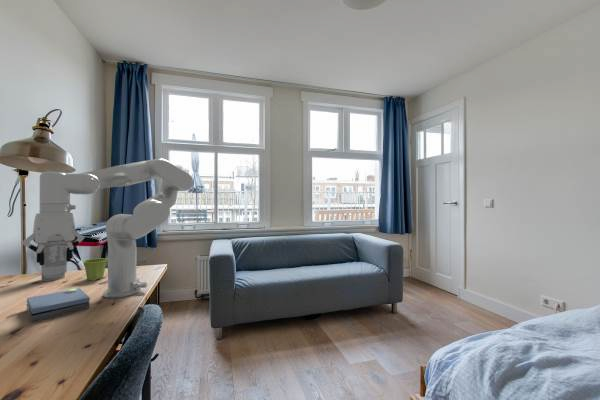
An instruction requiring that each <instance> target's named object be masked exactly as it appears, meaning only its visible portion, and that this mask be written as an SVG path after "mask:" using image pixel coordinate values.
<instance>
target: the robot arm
mask: <svg viewBox="0 0 600 400" xmlns="http://www.w3.org/2000/svg"><path fill="white" fill-rule="evenodd" d="M156 179H157V180H158V179H159V180H160V179H162V180H161V185H160V186H161V187H160V190H159V192H157V193H156V194H155V195H152V196H150V197H149V198H148V199H145V200H143V201H142V202H139V203H138V204H137V205H136V206H135V207H134V209H133V212H132V213H133V214H130V213H129V214H126V213H118V214H115V215H113V216H111V217H110V218H109V219H108V220H107V222H106V225H105V234H106V239H107V259H108V260H107V289H105V290H104V291H103V292H102V296H103V297H105V298H107V299H116V298H124V297H129V296H132V295H135V294H138V293H139V292H140V291H141V289H144V288H145V289H146V288H147V287H148V282H146V281H140V278H137V240H138V239H141V238H143V237H144V236H147V235H148V234H149V233H151V232H152V231H154V230H156V228H158V227H160V226H161V225H162V224H164V223H165V222H166V221H167V220H168V219H169V217H170V214H171V210H170V209H171V208H172V207H174V206H175V204H176V202H177V199H178V192H186V191H189V190H191V188H192V187H193V185H194V179H193V177H192V175H191V174H190V173H189V172H187V171H186V170H184V169H182V168H181V167H180V166H178V165H176V164H174V163H172V162H171V161H169V160H167V159H165V158H156V159H149V160H148V159H147V160H141V161H136V162H131V163H126V164H125V163H124V164H120V165H115V166H114V165H113V166H110V167H106V168H101V169H95V170H91V171H84V172H80V173H67V172H60V171H59V172H58V171H43V172H42V173H40V174H39V213H38V212H37V213H36V214H35V217H34V220H33V221H34V222H33V229H32V230H33V231H32V233H31V234H30V235H29V236H28V237H26V238H25V239H24V240H23V241H22V242H21V244H22V246H24V247H26V248H28V249H29V250H31V251H33V252H35V253H36V263H38V264H39V266H42V265H44V253H42V249H43V248H44V246H45V244H46V243H47V240H48V237H49V236H51V235H53V234H61V235H63V236H64V239H65V242H66V243H67V263H68V262H71V259H73V250H74V249H75V248H76V247H77V246H78V245H79V244H80V243H81V242H82V241H84V239H85V236H83V235H82V234H80V233H79V232H78V231H77V230H76V224H75V223H76V222H75V218H74V213H73V212H71V211H72V210H76V208H77V207H76V205H75V204H74V205H73V204H72V203H71V194H72V195H92V194H94V193H96V192H98V190H102V189H108V188H109V189H110V188H118V187H119V188H120V187H126V186H132V185H135V184H136V185H137V184H140V183H144V182H148V181H151V180H156ZM31 241H33V242H34V243H35V244H37V246H36V245H34V244H32V243H31ZM72 241H73V242H72Z"/></svg>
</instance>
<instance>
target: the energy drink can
mask: <svg viewBox="0 0 600 400" xmlns="http://www.w3.org/2000/svg"><path fill="white" fill-rule="evenodd" d="M42 253H44V265H41V276H42V275H43V276H45V278H55V277H60V276H63V275H65V276H66V273H67V272H68V270H67V269H68V268H67V267H68V264H67V263H68V261H67V243H66V242H65V239H64V236H63V235H61V234H53V235H51V236H49V237H48V240H47V243H46V244H45V246H44V248H43V249H42Z"/></svg>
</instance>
